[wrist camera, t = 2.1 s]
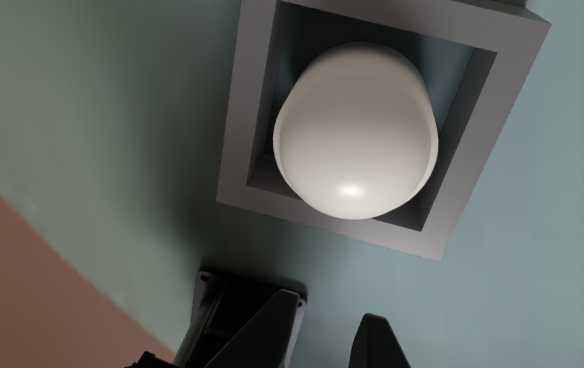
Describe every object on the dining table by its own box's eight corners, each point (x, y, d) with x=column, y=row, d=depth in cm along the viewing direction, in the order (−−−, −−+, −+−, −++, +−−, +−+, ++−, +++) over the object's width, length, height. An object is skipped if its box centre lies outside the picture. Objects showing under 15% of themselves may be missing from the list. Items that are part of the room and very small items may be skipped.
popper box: (432, 219, 22) (439, 261, 20) (236, 168, 23) (215, 201, 20) (525, 7, 17) (551, 23, 15) (269, -52, 18) (247, -48, 15)
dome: (403, 185, 20) (409, 273, 15) (280, 153, 20) (245, 230, 15) (451, 61, 17) (477, 119, 12) (306, 26, 18) (273, 68, 13)
